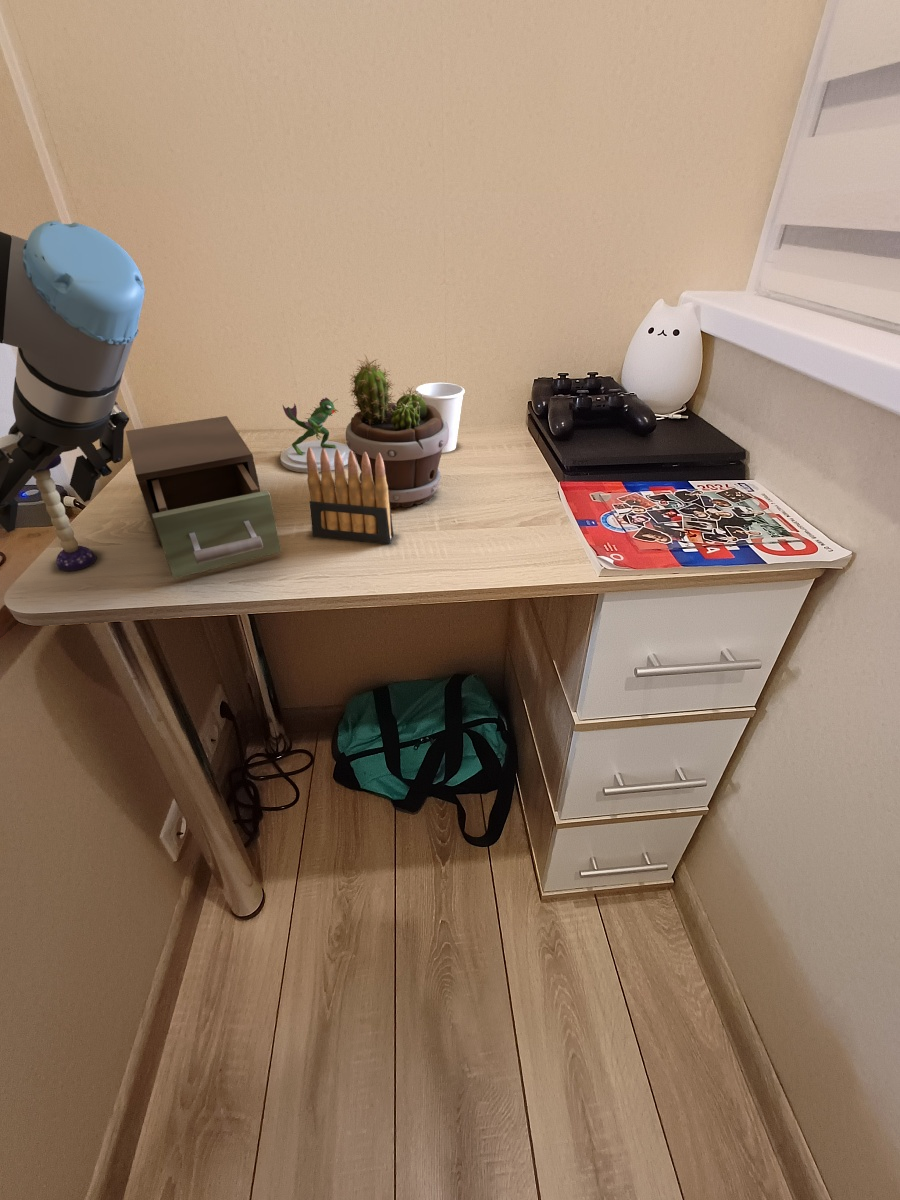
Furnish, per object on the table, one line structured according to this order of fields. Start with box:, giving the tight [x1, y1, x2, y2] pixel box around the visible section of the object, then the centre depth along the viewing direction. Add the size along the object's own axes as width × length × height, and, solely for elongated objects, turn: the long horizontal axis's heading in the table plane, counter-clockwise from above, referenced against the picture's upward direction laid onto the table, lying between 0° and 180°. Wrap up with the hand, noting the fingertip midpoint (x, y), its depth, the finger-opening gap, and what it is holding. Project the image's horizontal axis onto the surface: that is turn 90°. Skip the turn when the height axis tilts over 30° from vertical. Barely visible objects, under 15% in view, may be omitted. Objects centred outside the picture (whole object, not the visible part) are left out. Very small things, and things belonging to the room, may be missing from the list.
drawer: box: [151, 463, 282, 579], centre depth 70 cm, size 22×13×8 cm, turn 28°
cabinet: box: [125, 415, 261, 546], centre depth 80 cm, size 17×14×10 cm
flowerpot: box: [345, 353, 449, 509], centre depth 81 cm, size 14×15×20 cm
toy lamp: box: [7, 432, 97, 572], centre depth 66 cm, size 5×5×17 cm
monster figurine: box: [279, 397, 353, 474], centre depth 94 cm, size 12×12×10 cm
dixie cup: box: [414, 382, 465, 454], centre depth 99 cm, size 8×8×10 cm
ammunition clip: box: [307, 447, 395, 545], centre depth 72 cm, size 11×2×12 cm, turn 79°
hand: (43, 506), depth 68 cm, fingers open, 8 cm apart
